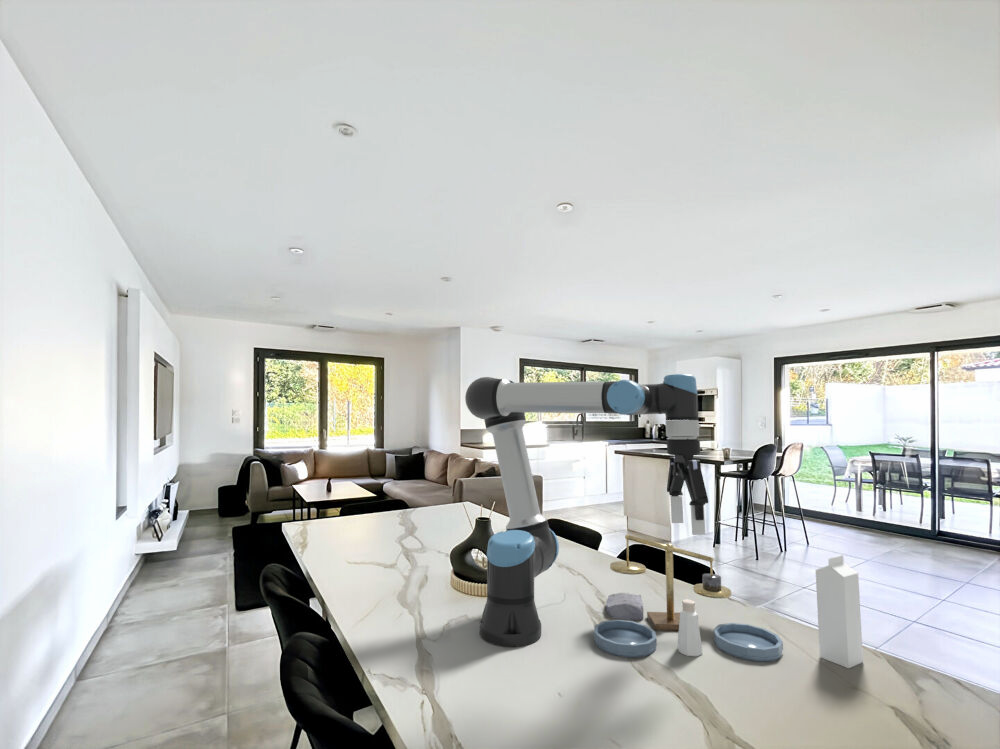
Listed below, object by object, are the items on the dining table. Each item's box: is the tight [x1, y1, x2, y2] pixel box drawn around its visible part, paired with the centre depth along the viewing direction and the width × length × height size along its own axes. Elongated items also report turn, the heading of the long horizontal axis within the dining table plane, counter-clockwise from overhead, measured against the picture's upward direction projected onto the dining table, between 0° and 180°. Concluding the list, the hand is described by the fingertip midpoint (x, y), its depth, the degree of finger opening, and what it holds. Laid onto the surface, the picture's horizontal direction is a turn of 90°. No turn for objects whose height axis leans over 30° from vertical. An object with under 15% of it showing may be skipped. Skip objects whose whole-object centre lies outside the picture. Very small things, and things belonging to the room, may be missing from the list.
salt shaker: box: [677, 598, 703, 658], centre depth 114 cm, size 5×5×11 cm
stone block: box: [605, 592, 644, 621], centre depth 138 cm, size 12×5×10 cm
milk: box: [815, 554, 864, 669], centre depth 111 cm, size 6×6×22 cm
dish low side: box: [712, 622, 784, 663], centre depth 116 cm, size 14×14×3 cm
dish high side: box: [593, 619, 657, 659], centre depth 118 cm, size 14×14×3 cm
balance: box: [609, 534, 732, 632], centre depth 130 cm, size 30×9×22 cm, turn 87°
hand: (687, 528), depth 119 cm, fingers open, 13 cm apart
